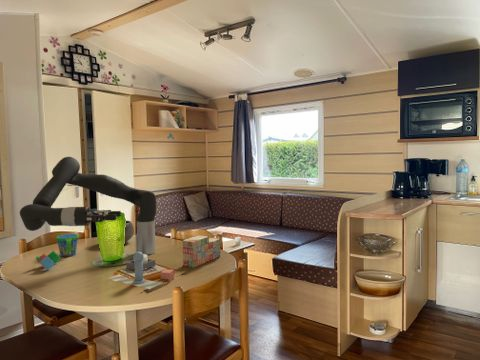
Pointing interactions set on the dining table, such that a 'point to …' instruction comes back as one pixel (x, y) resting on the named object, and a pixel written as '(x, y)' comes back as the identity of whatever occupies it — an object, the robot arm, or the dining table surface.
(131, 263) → the popper housing
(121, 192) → the robot arm
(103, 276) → the dining table surface
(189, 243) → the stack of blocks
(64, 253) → the snack cup
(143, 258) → the white rounded block
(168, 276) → the die
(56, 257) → the building blocks
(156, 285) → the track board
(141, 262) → the pawn
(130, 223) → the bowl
